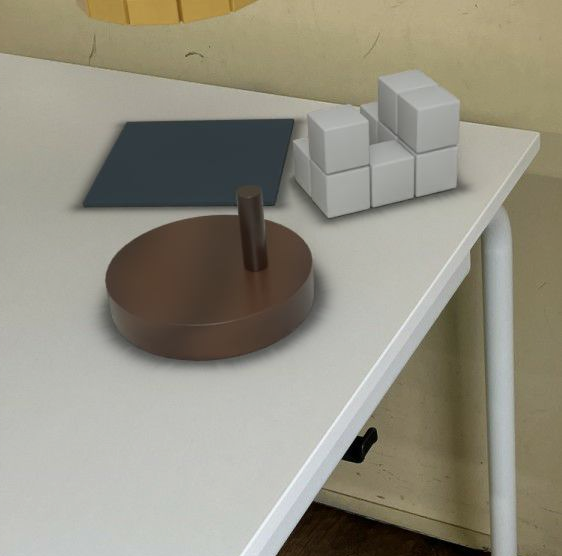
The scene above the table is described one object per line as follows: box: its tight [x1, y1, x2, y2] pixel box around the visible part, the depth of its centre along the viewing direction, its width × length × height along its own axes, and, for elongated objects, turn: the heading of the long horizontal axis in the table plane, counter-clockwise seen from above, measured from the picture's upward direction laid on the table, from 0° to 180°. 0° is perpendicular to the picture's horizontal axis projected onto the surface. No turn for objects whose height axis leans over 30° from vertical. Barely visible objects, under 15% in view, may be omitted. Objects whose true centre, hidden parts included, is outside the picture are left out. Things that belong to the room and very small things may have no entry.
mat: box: [82, 118, 295, 208], centre depth 94 cm, size 17×17×1 cm
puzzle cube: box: [292, 68, 461, 219], centre depth 87 cm, size 12×12×8 cm
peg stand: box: [104, 185, 315, 361], centre depth 73 cm, size 15×15×9 cm
